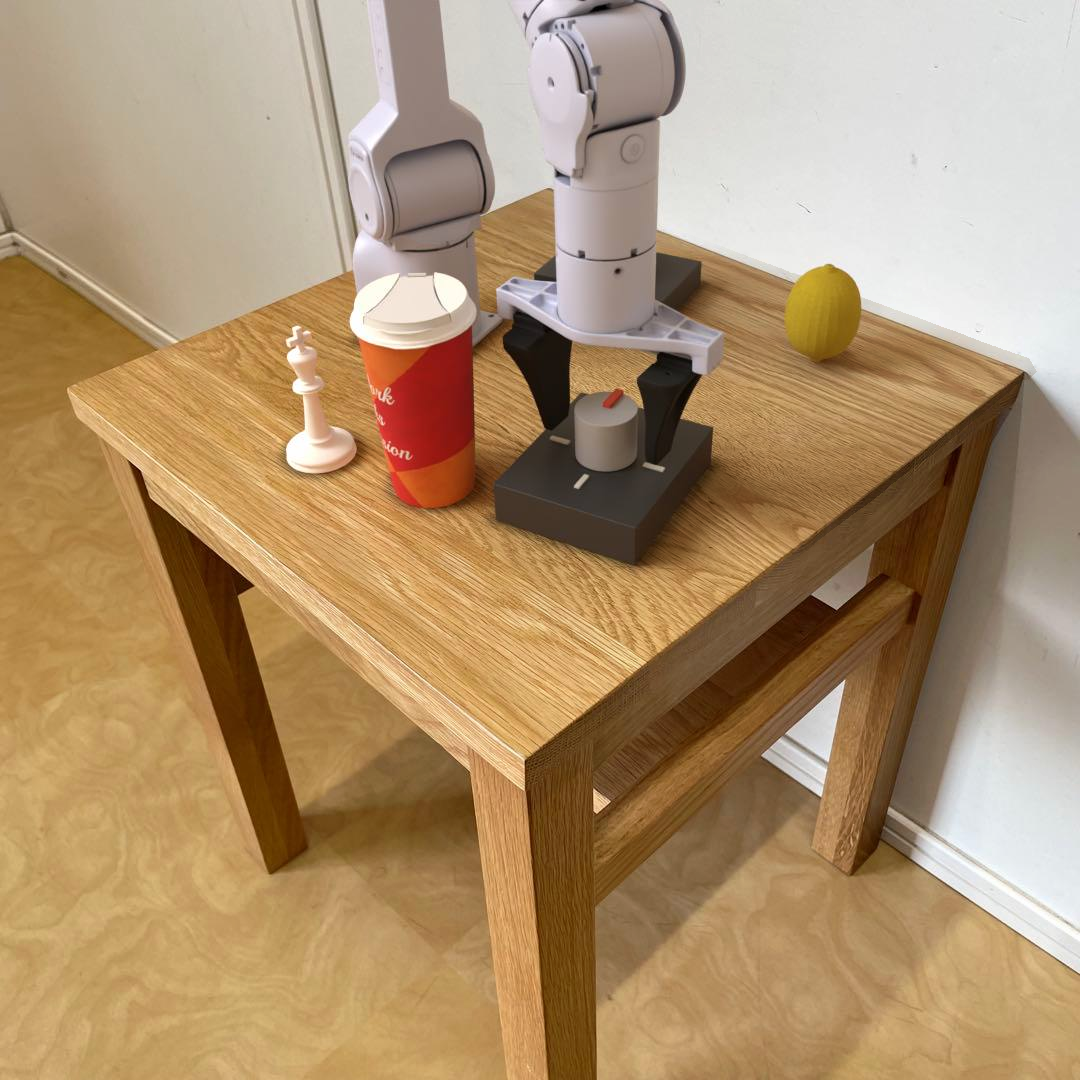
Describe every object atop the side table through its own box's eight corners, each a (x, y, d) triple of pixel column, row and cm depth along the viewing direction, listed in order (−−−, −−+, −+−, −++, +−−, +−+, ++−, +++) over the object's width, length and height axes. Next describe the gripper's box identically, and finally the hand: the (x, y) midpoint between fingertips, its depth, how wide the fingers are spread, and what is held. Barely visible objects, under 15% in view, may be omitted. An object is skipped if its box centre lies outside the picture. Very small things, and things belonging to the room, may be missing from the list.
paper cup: (386, 451, 79) (357, 268, 70) (494, 449, 78) (479, 265, 69) (369, 520, 73) (335, 330, 64) (486, 519, 72) (469, 327, 63)
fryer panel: (495, 520, 72) (492, 481, 70) (581, 427, 80) (581, 389, 78) (634, 566, 68) (635, 526, 66) (711, 463, 76) (713, 424, 74)
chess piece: (273, 453, 79) (244, 328, 73) (331, 425, 81) (307, 302, 75) (312, 482, 76) (285, 355, 70) (370, 452, 79) (349, 326, 72)
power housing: (534, 296, 96) (532, 253, 93) (578, 258, 101) (577, 216, 98) (662, 325, 91) (663, 280, 88) (700, 284, 96) (703, 241, 94)
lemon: (853, 382, 83) (869, 284, 78) (778, 377, 84) (789, 280, 79) (852, 345, 87) (868, 250, 82) (780, 340, 88) (791, 246, 83)
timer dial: (620, 478, 70) (620, 428, 68) (564, 462, 72) (562, 412, 69) (647, 445, 73) (648, 396, 70) (592, 430, 74) (592, 381, 72)
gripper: (754, 238, 62) (736, 439, 71) (537, 190, 68) (545, 380, 77) (696, 290, 58) (685, 498, 66) (470, 233, 64) (486, 430, 73)
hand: (606, 438), depth 71 cm, fingers open, 7 cm apart
